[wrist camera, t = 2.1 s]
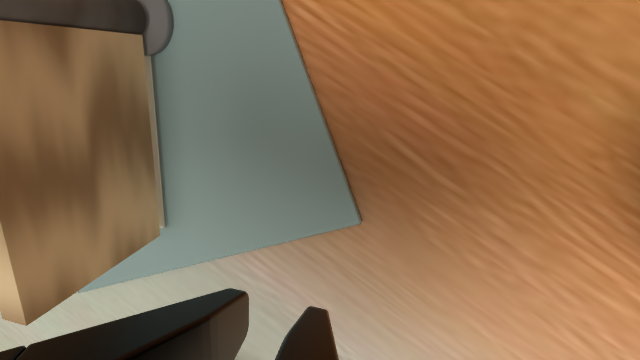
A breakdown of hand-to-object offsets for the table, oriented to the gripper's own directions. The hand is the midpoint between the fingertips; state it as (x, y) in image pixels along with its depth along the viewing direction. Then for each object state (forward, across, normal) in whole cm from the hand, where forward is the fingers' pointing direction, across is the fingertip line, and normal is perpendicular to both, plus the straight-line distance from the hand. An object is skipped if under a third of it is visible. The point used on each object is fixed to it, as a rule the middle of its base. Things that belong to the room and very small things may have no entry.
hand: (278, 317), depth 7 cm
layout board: (+12, -13, 0) cm, 18 cm away
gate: (+11, -12, +1) cm, 16 cm away
